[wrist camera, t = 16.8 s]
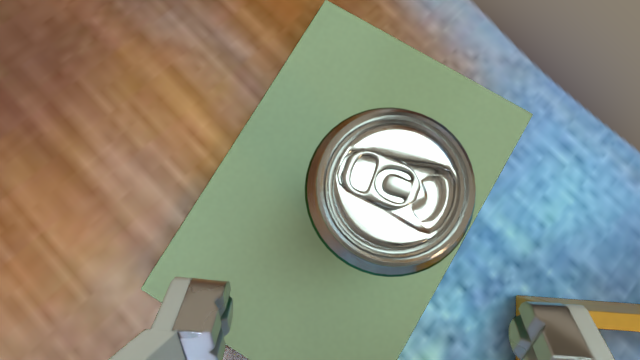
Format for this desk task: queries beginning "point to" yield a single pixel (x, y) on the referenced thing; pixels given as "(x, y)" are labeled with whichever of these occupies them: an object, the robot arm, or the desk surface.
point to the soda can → (390, 192)
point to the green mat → (290, 207)
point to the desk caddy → (598, 312)
